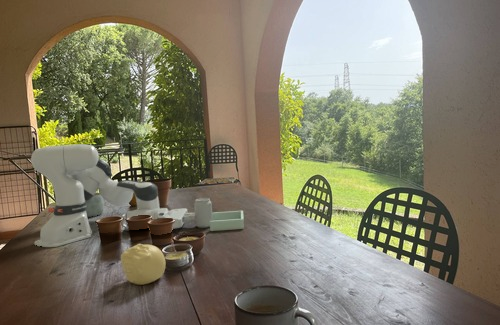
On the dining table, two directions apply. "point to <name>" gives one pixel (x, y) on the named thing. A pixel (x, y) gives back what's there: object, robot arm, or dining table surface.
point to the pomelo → (143, 264)
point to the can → (203, 212)
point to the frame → (227, 220)
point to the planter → (95, 205)
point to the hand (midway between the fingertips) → (195, 216)
